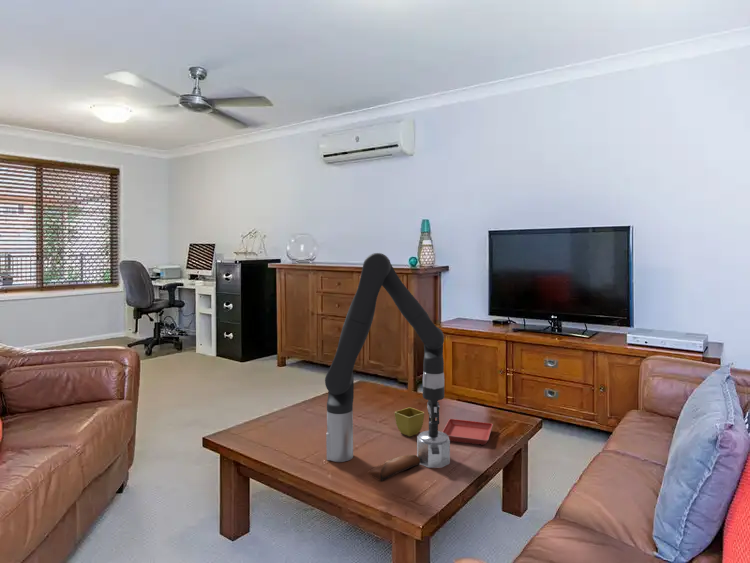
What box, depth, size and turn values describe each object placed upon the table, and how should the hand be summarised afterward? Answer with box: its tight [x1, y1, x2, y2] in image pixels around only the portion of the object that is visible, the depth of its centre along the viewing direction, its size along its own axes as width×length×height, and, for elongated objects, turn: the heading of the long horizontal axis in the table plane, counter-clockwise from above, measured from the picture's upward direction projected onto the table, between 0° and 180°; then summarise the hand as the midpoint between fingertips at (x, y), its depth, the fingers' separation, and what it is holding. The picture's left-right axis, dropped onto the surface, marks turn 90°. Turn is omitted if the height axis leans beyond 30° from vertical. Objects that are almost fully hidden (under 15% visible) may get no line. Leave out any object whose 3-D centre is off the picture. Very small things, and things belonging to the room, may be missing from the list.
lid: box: [418, 419, 448, 444], centre depth 175 cm, size 10×10×8 cm
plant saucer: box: [441, 418, 494, 446], centre depth 199 cm, size 18×18×3 cm
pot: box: [416, 434, 451, 469], centre depth 176 cm, size 11×17×8 cm, turn 179°
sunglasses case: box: [366, 454, 421, 482], centre depth 169 cm, size 18×7×7 cm
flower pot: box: [394, 406, 425, 437], centre depth 201 cm, size 9×9×9 cm
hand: (433, 429), depth 175 cm, fingers open, 8 cm apart
